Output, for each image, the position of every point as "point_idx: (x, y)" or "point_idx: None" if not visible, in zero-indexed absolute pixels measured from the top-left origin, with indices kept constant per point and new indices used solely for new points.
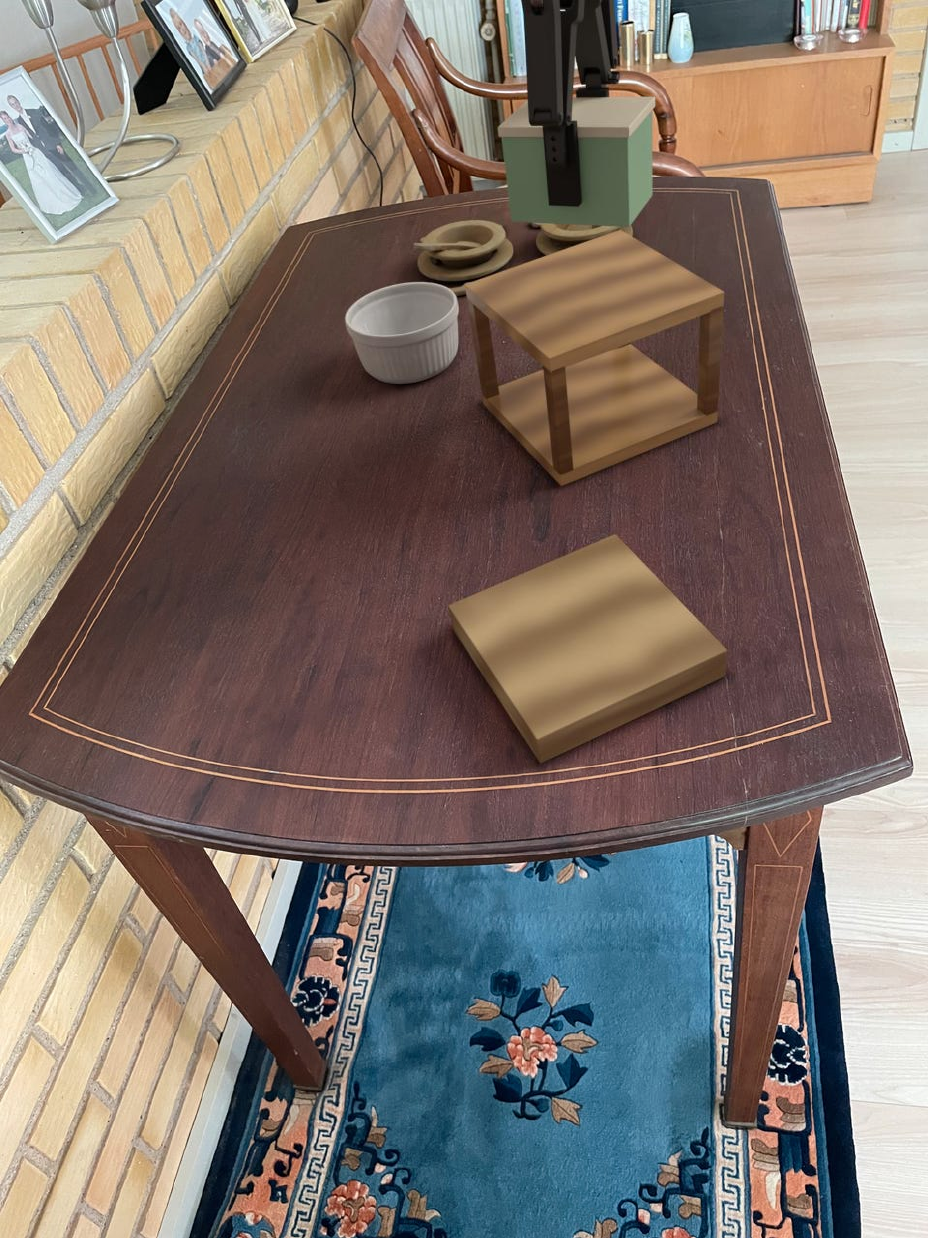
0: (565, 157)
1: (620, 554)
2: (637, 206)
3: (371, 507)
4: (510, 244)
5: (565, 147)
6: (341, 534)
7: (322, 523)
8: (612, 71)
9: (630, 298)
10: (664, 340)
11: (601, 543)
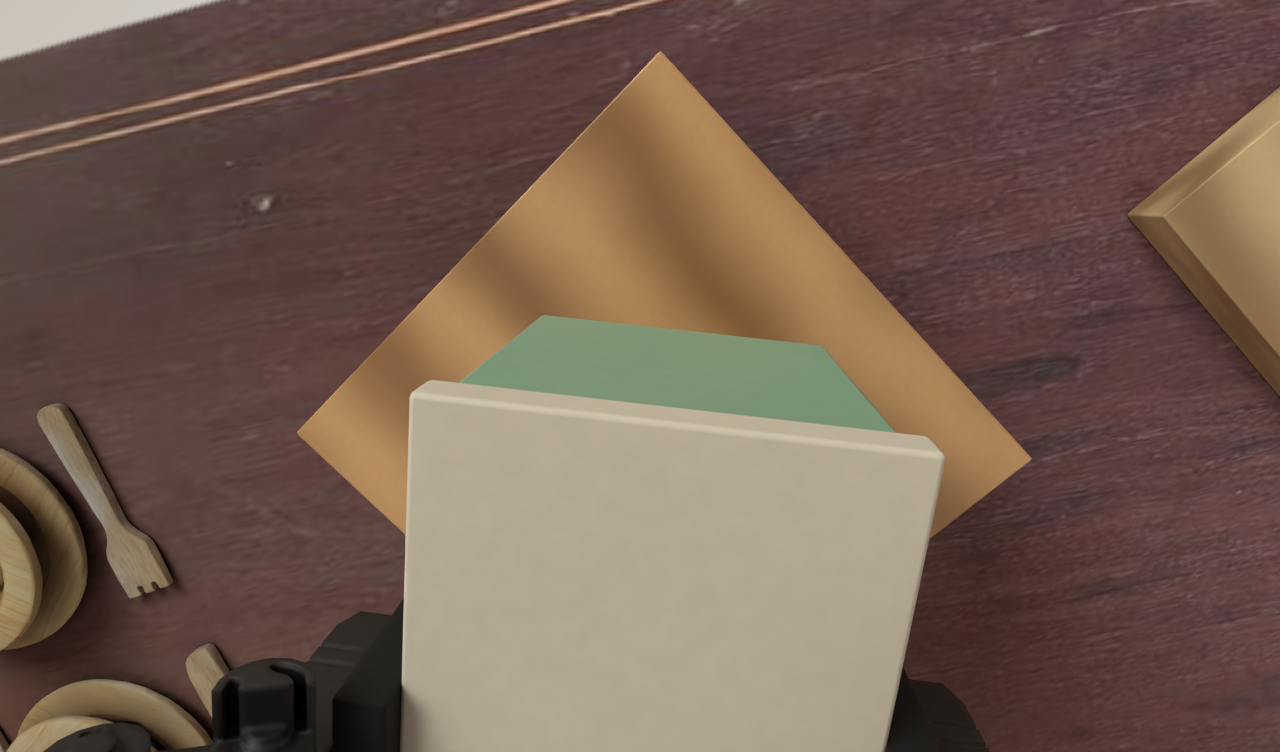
0: (937, 712)
1: (1227, 192)
2: (728, 341)
3: (998, 678)
4: (55, 696)
5: (948, 741)
6: (1075, 702)
7: (1047, 742)
8: (218, 733)
9: (709, 317)
10: (375, 274)
11: (1194, 236)
